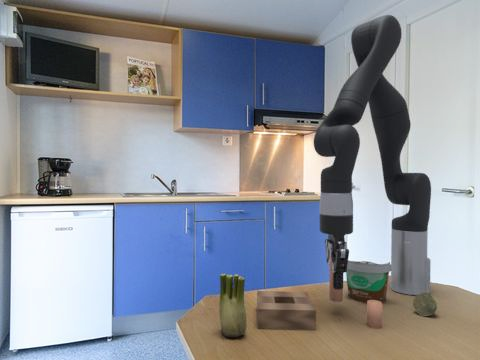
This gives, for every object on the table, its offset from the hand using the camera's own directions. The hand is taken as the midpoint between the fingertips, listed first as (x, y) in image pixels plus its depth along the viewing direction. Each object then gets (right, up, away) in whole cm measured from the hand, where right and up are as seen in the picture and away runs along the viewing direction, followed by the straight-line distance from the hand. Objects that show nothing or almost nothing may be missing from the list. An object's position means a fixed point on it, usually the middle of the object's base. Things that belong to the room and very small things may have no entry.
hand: (336, 286), depth 83 cm
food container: (+10, -7, +9) cm, 15 cm away
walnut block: (-12, -6, -3) cm, 14 cm away
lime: (+21, -7, 0) cm, 22 cm away
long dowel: (0, -3, 0) cm, 3 cm away
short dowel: (+6, -7, -6) cm, 11 cm away
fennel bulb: (-24, -7, -11) cm, 27 cm away
